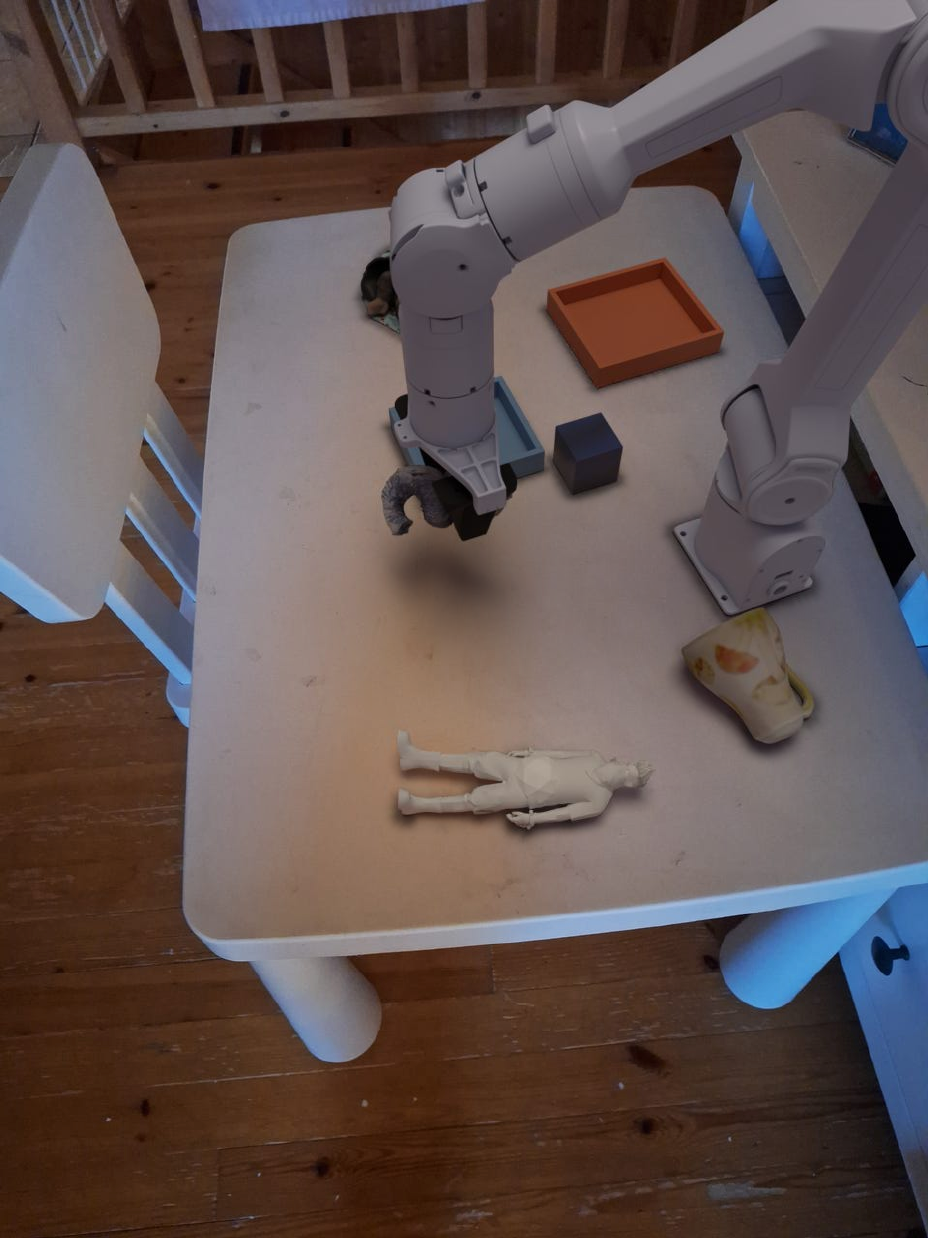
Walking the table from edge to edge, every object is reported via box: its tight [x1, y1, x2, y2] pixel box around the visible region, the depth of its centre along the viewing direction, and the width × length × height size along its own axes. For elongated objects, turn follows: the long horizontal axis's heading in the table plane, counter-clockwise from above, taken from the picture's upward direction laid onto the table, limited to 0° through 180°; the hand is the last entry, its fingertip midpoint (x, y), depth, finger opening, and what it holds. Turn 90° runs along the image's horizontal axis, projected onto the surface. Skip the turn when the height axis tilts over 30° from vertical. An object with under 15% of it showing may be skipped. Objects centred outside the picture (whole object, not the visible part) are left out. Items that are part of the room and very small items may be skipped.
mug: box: [680, 606, 815, 744], centre depth 67 cm, size 8×10×10 cm
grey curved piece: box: [380, 464, 513, 537], centre depth 68 cm, size 5×5×10 cm
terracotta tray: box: [546, 256, 725, 389], centre depth 90 cm, size 12×13×2 cm
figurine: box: [396, 729, 656, 830], centre depth 64 cm, size 7×4×18 cm
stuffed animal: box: [360, 249, 400, 334], centre depth 94 cm, size 12×10×12 cm
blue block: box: [552, 411, 624, 495], centre depth 79 cm, size 4×4×4 cm
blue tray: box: [388, 375, 546, 479], centre depth 82 cm, size 10×11×2 cm
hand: (457, 502), depth 69 cm, fingers closed on grey curved piece, 6 cm apart
